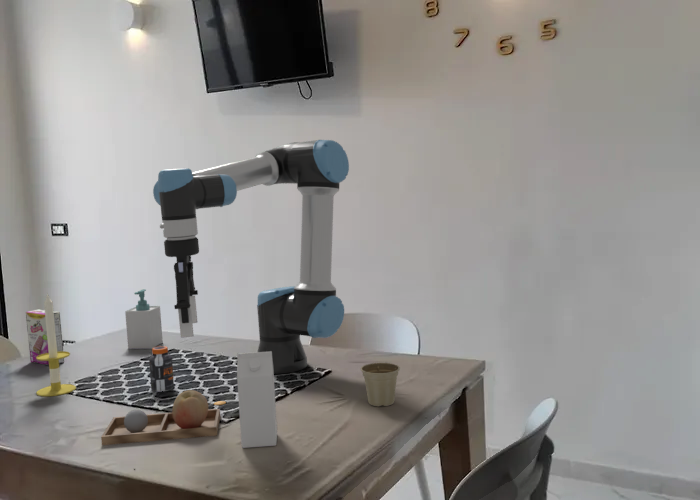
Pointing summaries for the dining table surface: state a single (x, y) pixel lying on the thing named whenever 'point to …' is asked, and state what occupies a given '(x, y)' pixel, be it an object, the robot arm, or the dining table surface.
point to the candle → (53, 357)
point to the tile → (219, 403)
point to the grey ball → (135, 421)
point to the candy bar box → (41, 334)
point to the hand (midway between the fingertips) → (189, 329)
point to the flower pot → (380, 382)
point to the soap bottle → (143, 325)
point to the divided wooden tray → (159, 429)
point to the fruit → (190, 409)
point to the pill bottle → (161, 369)
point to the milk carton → (256, 399)
